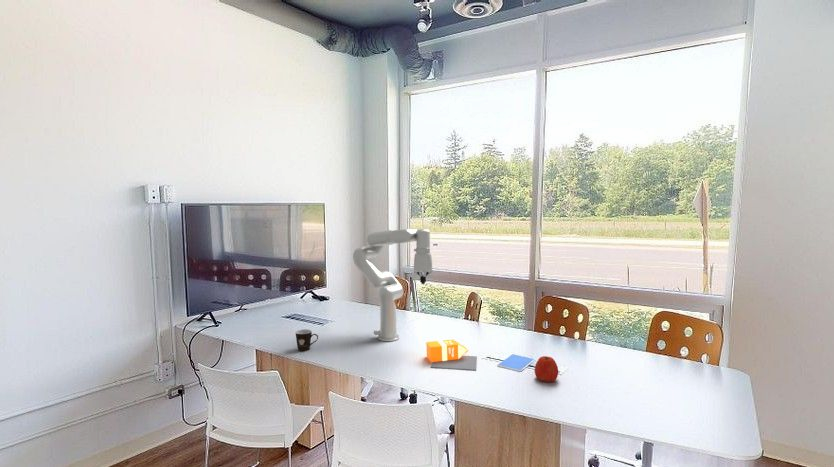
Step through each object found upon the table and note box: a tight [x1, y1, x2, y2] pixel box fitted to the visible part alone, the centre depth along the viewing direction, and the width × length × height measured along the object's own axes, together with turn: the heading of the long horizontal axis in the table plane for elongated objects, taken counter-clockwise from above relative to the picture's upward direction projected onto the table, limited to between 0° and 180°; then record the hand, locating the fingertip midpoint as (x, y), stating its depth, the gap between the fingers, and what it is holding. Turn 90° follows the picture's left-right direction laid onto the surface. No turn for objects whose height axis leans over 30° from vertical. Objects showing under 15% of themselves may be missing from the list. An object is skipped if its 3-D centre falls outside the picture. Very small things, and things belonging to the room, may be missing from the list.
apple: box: [534, 355, 559, 383], centre depth 185 cm, size 10×10×10 cm
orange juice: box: [425, 339, 469, 363], centre depth 211 cm, size 8×9×20 cm
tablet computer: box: [496, 354, 536, 373], centre depth 205 cm, size 19×13×1 cm, turn 144°
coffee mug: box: [295, 328, 319, 353], centre depth 223 cm, size 12×9×10 cm
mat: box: [430, 355, 478, 372], centre depth 205 cm, size 22×18×1 cm
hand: (423, 283), depth 230 cm, fingers closed
